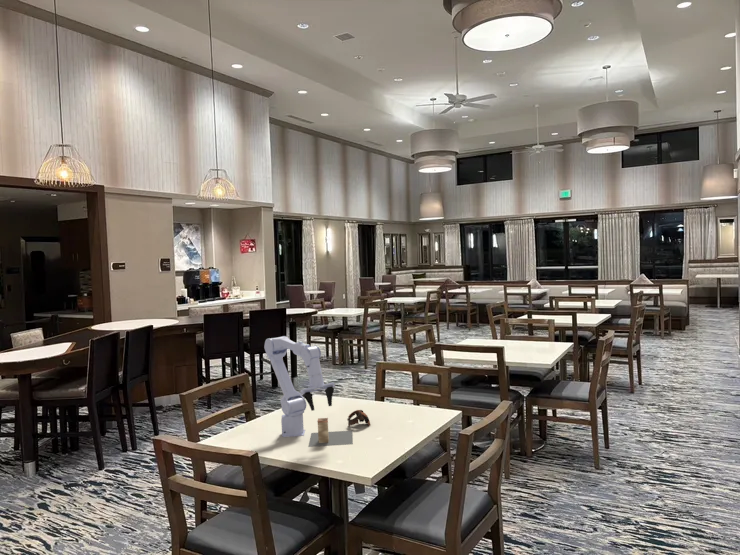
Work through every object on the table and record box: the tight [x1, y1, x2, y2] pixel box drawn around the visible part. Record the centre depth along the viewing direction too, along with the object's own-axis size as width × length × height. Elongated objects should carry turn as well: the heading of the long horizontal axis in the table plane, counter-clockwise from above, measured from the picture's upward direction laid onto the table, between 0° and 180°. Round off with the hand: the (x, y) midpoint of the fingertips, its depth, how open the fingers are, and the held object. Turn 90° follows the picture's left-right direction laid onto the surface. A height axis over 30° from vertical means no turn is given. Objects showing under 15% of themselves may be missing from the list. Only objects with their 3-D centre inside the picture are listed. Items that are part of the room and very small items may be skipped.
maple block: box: [316, 417, 329, 443], centre depth 223 cm, size 4×4×9 cm
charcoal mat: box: [307, 430, 354, 448], centre depth 226 cm, size 18×18×1 cm
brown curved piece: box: [346, 409, 372, 427], centre depth 243 cm, size 12×10×8 cm
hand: (321, 408), depth 221 cm, fingers open, 7 cm apart
